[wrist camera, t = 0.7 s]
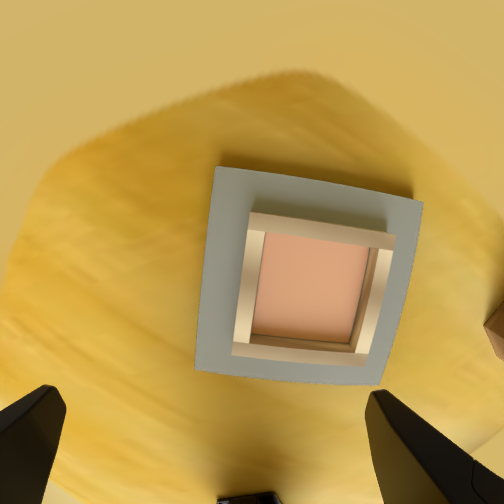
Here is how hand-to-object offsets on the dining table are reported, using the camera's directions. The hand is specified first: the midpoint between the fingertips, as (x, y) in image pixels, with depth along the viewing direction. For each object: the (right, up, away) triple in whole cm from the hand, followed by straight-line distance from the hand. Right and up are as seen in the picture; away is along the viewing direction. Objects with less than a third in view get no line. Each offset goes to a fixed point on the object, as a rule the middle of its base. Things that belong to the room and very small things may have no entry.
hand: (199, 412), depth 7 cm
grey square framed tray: (+5, +2, +14) cm, 15 cm away
